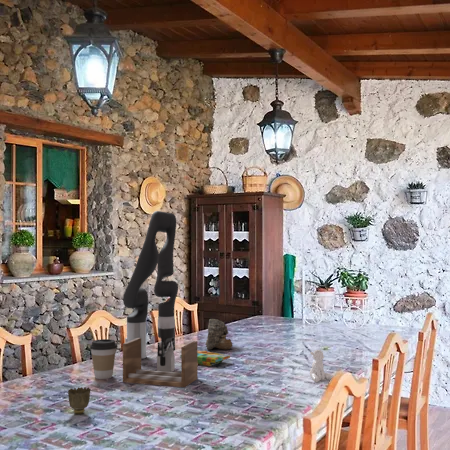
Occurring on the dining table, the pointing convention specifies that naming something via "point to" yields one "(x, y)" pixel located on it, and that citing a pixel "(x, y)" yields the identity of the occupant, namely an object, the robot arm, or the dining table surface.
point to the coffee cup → (103, 357)
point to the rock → (217, 335)
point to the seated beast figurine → (318, 367)
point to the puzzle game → (210, 358)
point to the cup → (79, 399)
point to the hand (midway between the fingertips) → (166, 363)
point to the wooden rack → (136, 375)
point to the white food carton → (167, 362)
